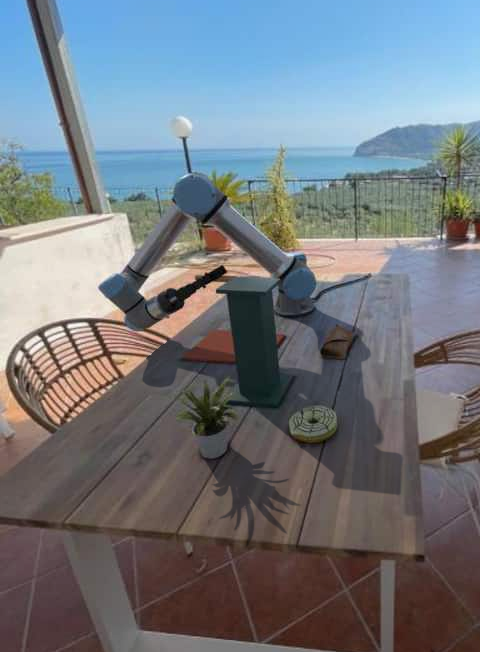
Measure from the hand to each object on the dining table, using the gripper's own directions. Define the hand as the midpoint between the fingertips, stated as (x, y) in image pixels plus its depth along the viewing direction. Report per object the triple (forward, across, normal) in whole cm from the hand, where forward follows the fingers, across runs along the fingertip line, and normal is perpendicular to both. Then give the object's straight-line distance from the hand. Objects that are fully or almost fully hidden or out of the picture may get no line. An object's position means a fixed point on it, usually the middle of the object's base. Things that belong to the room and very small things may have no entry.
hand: (222, 270), depth 116 cm
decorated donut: (+18, +36, -41) cm, 57 cm away
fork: (0, 0, -4) cm, 4 cm away
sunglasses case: (+17, -6, -40) cm, 44 cm away
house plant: (+1, +46, -31) cm, 55 cm away
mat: (-12, 0, -23) cm, 26 cm away
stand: (+3, +22, -32) cm, 39 cm away
